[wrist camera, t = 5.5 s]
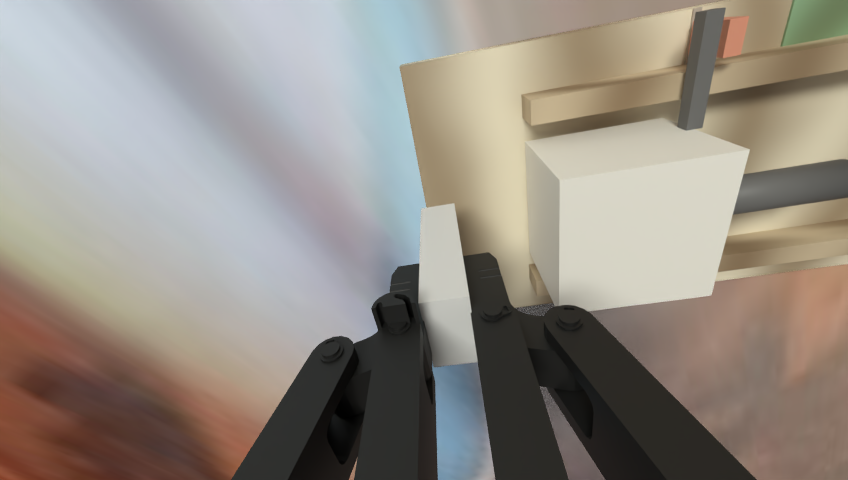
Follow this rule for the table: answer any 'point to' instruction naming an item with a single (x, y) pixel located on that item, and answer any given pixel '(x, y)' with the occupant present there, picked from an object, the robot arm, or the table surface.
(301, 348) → the table surface
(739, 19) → the orange small block
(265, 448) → the robot arm
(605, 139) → the white block with rods
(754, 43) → the board
